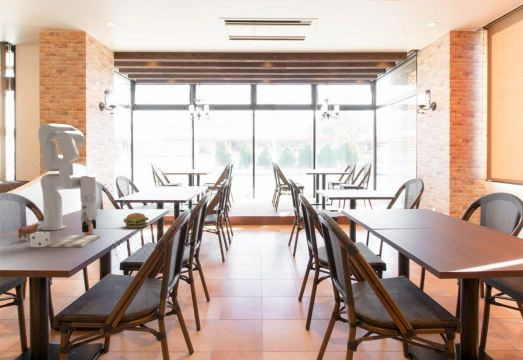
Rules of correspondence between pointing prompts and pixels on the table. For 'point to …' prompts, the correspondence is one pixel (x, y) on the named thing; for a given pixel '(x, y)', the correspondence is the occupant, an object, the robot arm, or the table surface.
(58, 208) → the robot arm
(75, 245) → the game board
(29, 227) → the bull figurine
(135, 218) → the food
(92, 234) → the peach rounded cylinder
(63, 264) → the table surface
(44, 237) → the die
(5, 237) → the table surface
